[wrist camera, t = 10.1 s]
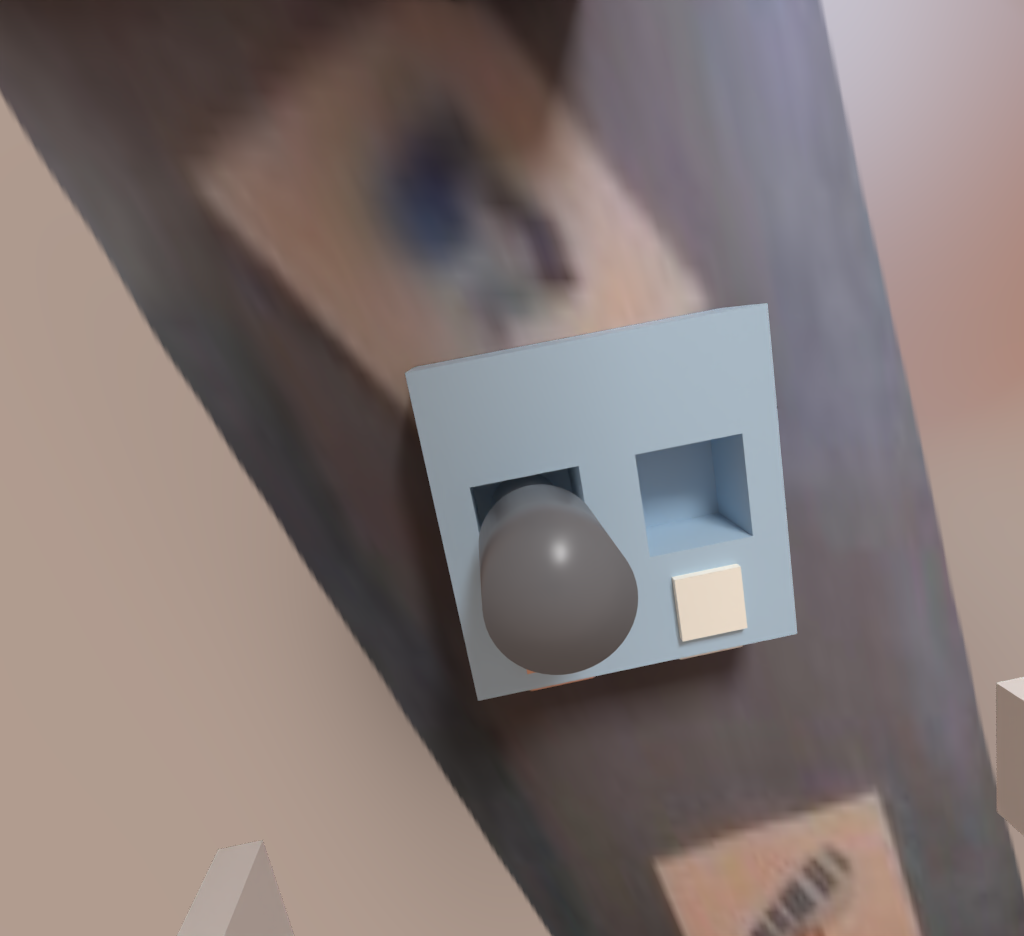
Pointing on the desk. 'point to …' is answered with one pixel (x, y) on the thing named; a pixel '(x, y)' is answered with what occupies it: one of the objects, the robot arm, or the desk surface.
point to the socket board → (625, 476)
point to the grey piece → (552, 579)
